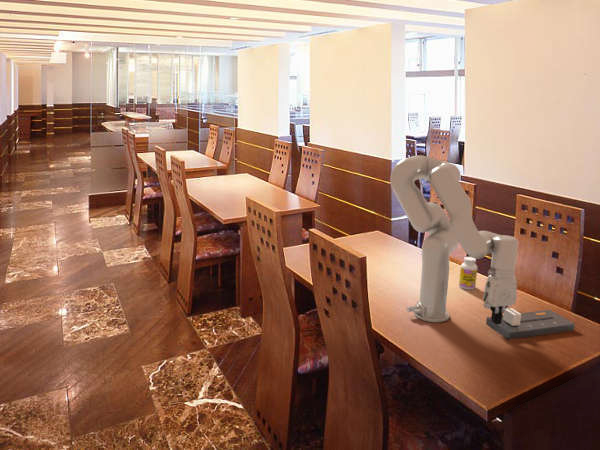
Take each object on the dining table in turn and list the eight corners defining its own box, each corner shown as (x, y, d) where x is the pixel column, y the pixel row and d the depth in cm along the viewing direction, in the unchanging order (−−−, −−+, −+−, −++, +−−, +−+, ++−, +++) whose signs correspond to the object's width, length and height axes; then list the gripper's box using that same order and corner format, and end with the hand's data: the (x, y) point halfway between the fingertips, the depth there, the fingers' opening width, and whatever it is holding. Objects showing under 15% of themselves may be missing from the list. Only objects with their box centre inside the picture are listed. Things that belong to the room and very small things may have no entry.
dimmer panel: (508, 339, 165) (509, 332, 164) (486, 323, 176) (486, 317, 176) (574, 330, 172) (575, 323, 172) (548, 315, 183) (549, 309, 183)
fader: (512, 325, 169) (513, 314, 168) (502, 319, 173) (504, 308, 172) (519, 324, 169) (521, 313, 168) (510, 318, 174) (511, 307, 173)
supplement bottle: (459, 289, 207) (462, 260, 204) (457, 283, 213) (460, 255, 210) (476, 290, 206) (479, 261, 203) (473, 284, 212) (476, 256, 209)
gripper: (489, 278, 159) (483, 329, 164) (528, 274, 163) (521, 324, 168) (476, 270, 166) (470, 320, 171) (513, 266, 170) (507, 315, 175)
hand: (496, 322), depth 170 cm, fingers closed
